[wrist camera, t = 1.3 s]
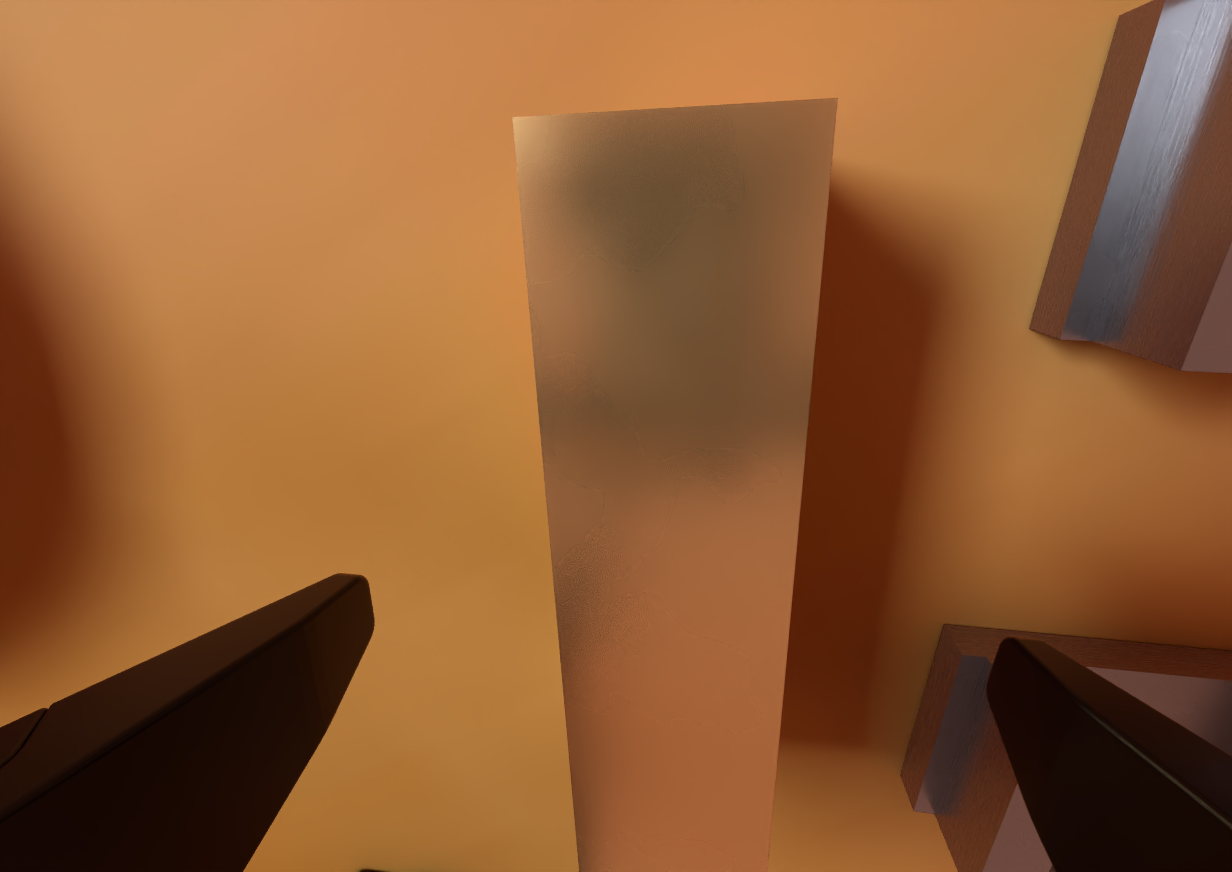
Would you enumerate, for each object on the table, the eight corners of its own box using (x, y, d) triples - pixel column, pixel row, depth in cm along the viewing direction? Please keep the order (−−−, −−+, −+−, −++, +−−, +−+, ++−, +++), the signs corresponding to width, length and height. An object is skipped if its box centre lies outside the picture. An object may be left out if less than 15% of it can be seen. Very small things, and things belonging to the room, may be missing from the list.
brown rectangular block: (742, 689, 15) (764, 896, 11) (611, 681, 16) (579, 876, 11) (773, 145, 11) (837, 98, 6) (586, 154, 11) (512, 117, 6)
